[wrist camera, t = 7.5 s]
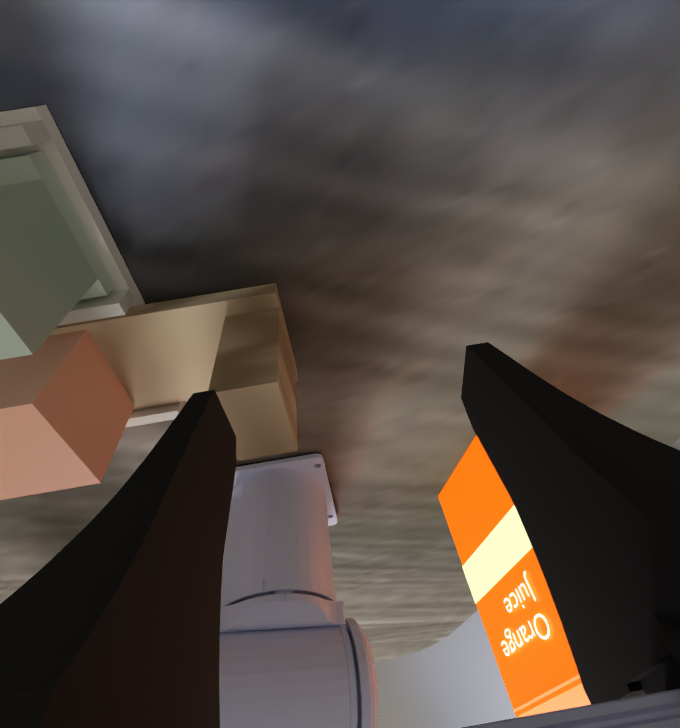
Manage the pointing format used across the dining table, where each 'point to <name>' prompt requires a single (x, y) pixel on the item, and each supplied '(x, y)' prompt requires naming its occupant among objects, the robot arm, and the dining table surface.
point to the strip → (40, 255)
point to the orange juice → (509, 589)
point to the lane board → (41, 133)
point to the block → (59, 416)
